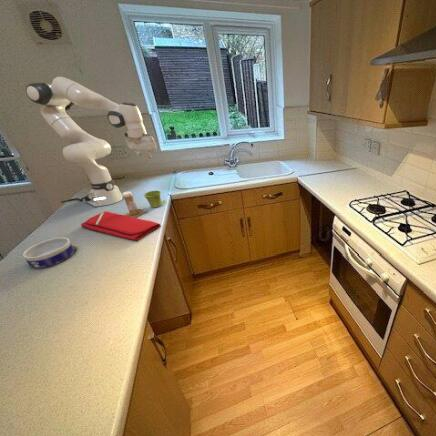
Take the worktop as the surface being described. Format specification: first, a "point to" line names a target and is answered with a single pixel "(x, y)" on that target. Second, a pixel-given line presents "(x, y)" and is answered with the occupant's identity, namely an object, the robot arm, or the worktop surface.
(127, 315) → the worktop surface
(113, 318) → the worktop surface
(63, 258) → the dog bowl
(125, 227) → the dish drying mat
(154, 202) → the plant pot
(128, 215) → the coaster
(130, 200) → the sprinkles bottle
